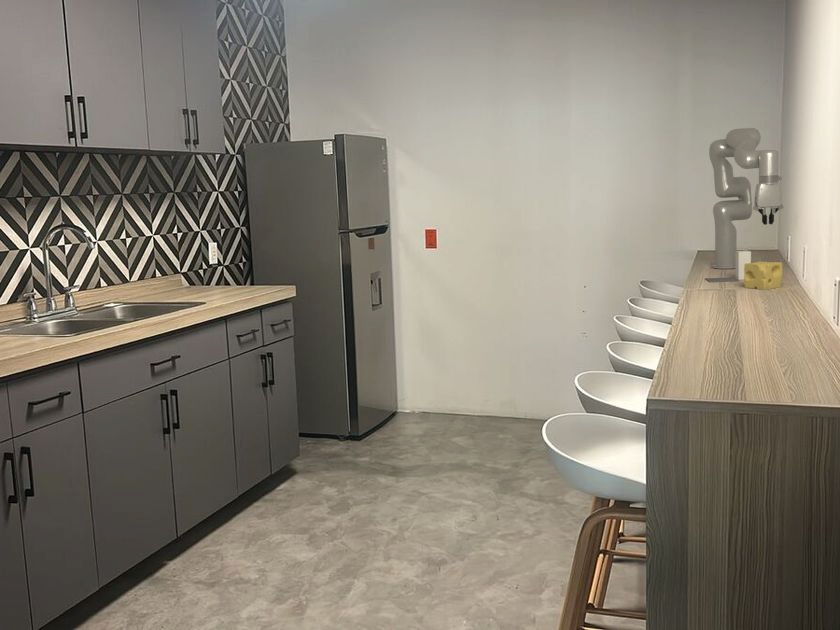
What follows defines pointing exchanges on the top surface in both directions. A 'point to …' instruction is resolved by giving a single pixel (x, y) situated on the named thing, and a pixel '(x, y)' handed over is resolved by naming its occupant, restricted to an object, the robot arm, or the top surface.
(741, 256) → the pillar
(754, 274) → the cheese
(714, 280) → the mat
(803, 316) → the top surface
